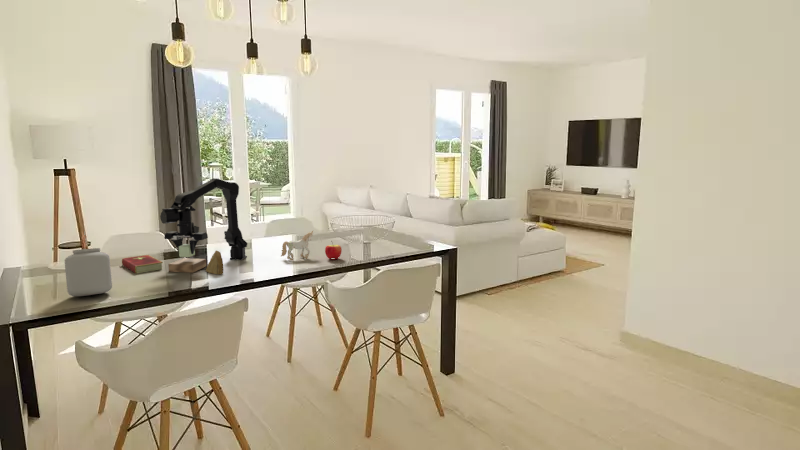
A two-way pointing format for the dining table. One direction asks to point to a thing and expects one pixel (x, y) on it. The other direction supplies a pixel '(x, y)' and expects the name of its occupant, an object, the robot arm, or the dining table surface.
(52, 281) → the dining table surface
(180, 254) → the green cube
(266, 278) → the dining table surface
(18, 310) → the dining table surface
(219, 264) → the brown tan chunky block
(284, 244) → the unicorn figurine
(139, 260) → the hardcover book
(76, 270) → the jar
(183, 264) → the walnut block
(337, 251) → the apple
